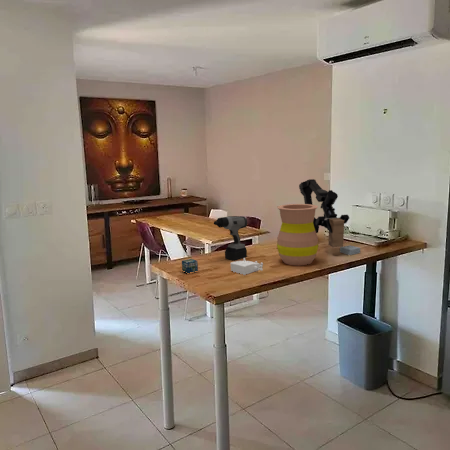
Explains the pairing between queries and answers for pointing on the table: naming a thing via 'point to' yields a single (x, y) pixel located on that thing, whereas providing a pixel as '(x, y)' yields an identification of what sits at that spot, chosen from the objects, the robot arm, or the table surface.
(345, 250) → the plinth
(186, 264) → the puzzle
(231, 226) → the cordless drill
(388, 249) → the table surface
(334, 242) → the post
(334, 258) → the table surface
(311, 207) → the vase
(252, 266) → the white box with fittings
